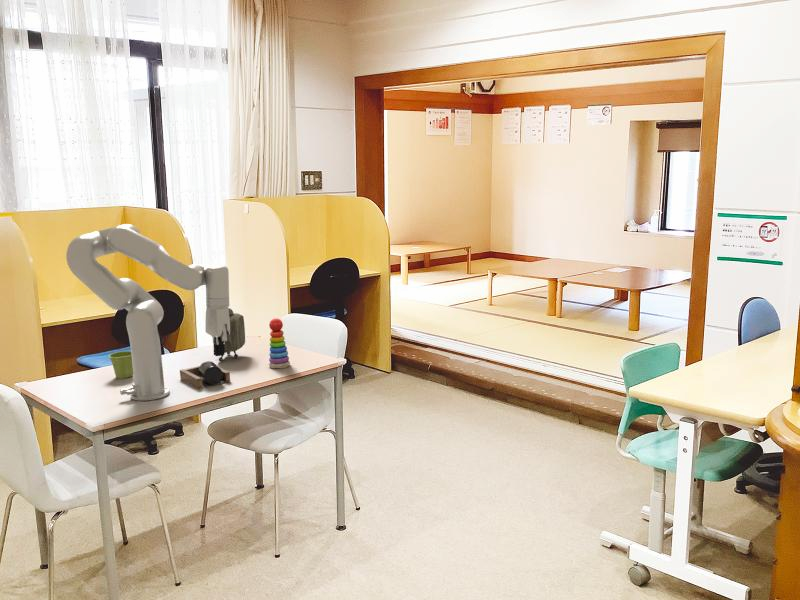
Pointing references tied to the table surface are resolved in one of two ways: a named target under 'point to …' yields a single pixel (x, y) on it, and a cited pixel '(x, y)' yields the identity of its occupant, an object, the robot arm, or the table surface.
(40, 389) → the table surface
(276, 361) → the stacking toy
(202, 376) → the supplement bottle
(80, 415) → the table surface
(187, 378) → the u rest
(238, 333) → the tabletop clock
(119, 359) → the plant pot
